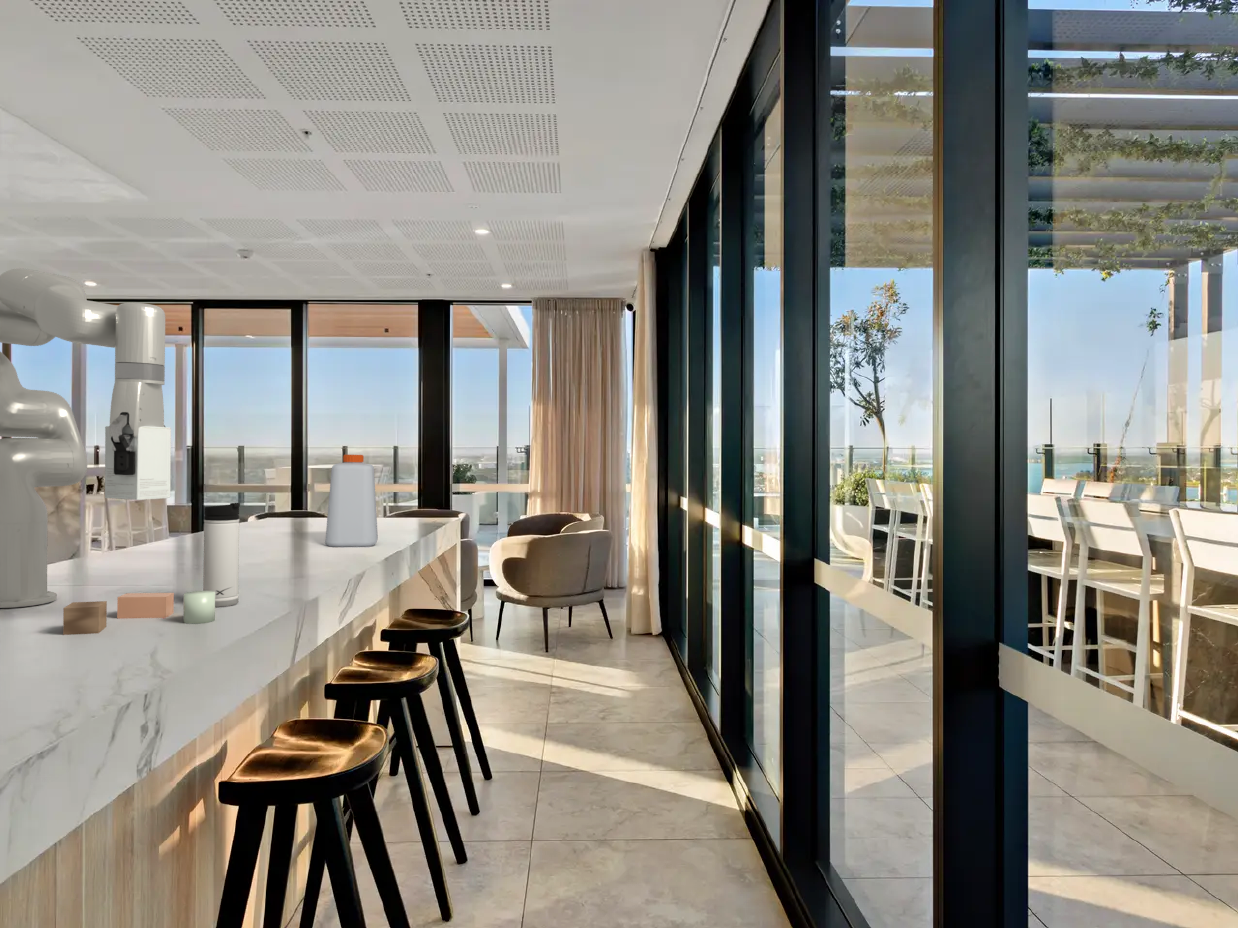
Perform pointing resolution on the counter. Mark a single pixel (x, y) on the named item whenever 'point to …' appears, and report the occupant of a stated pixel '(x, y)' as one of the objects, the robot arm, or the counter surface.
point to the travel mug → (221, 553)
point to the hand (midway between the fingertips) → (138, 473)
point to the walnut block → (84, 617)
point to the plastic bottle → (352, 504)
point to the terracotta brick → (145, 605)
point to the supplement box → (141, 466)
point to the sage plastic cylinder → (199, 607)
